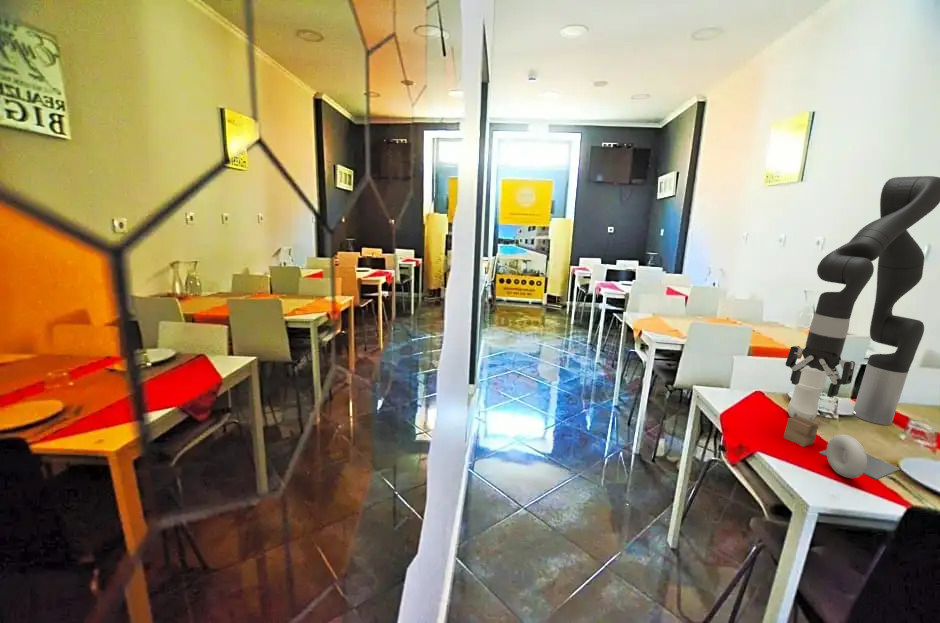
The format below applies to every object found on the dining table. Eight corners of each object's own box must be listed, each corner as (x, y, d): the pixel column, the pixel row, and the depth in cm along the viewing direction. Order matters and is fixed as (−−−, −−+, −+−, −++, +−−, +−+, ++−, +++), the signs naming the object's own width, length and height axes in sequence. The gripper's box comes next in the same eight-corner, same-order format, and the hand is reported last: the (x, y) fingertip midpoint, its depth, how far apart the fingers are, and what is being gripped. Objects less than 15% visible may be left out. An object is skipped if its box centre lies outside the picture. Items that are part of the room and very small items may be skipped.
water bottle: (819, 425, 127) (842, 346, 122) (793, 421, 129) (813, 343, 123) (806, 414, 134) (826, 339, 128) (781, 411, 136) (800, 336, 130)
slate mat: (843, 444, 117) (843, 443, 117) (900, 469, 106) (900, 468, 106) (819, 453, 112) (819, 452, 112) (876, 479, 101) (876, 478, 101)
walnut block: (793, 434, 121) (798, 415, 120) (813, 443, 117) (819, 423, 115) (783, 437, 119) (788, 418, 118) (803, 446, 115) (808, 426, 113)
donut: (818, 461, 108) (828, 426, 105) (833, 463, 107) (843, 427, 105) (848, 486, 98) (860, 448, 96) (864, 488, 98) (876, 449, 95)
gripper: (868, 339, 106) (851, 399, 110) (805, 324, 118) (791, 378, 122) (853, 341, 103) (835, 403, 106) (789, 326, 115) (775, 381, 119)
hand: (812, 390), depth 114 cm, fingers open, 8 cm apart
